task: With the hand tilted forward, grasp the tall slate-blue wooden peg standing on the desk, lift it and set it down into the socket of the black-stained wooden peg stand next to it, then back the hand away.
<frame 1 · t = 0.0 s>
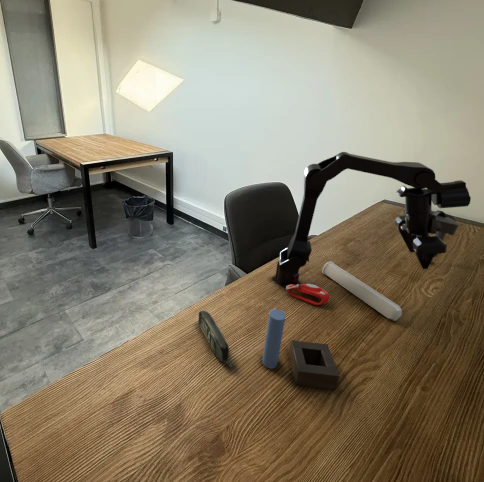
hand: (418, 260, 87), 15 cm above the table, tool pointing down, fingers open, 9 cm apart
microphone: (429, 263, 115), on the table
mobile phone: (213, 345, 75), on the table
tube: (358, 296, 95), on the table
peg: (269, 362, 71), on the table
stand: (310, 370, 69), on the table
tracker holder: (305, 295, 94), on the table
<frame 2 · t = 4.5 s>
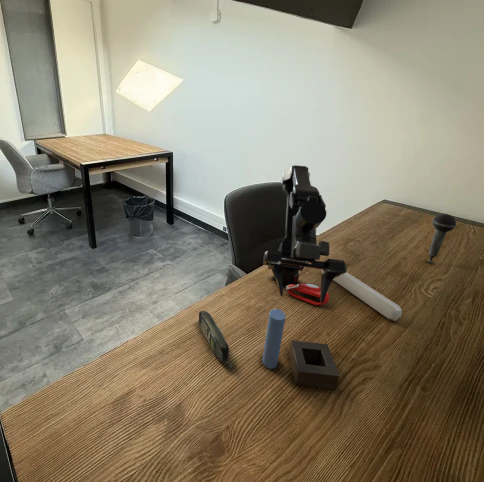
hand: (301, 299, 71), 14 cm above the table, tool tilted 40°, fingers open, 9 cm apart
nothing on the table moved.
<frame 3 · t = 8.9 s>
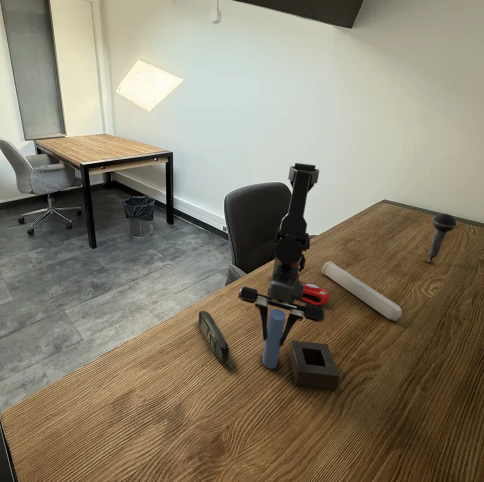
hand: (272, 343, 67), 7 cm above the table, tool tilted 45°, fingers closed on peg, 3 cm apart
peg: (269, 362, 71), on the table, touching gripper
everything else where it was.
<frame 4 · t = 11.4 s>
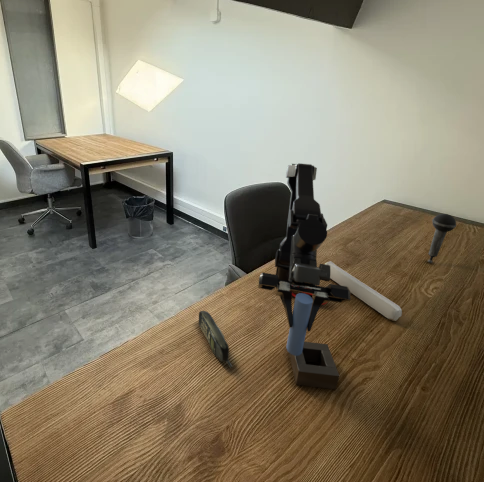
hand: (299, 329, 64), 13 cm above the table, tool tilted 45°, fingers closed on peg, 3 cm apart
peg: (294, 349, 68), point 5 cm above the table, touching gripper
everything else where it was.
when the fingers open (7 cm above the table, at t = 14.3 s): peg stays where it is, resting in stand.
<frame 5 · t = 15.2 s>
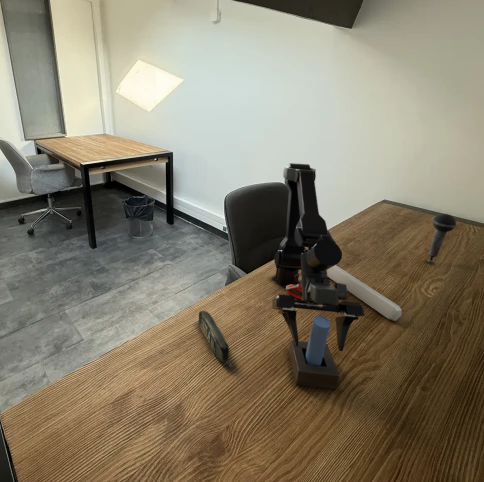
hand: (318, 348, 65), 8 cm above the table, tool tilted 45°, fingers open, 9 cm apart
peg: (310, 370, 69), resting in stand
everything else where it was.
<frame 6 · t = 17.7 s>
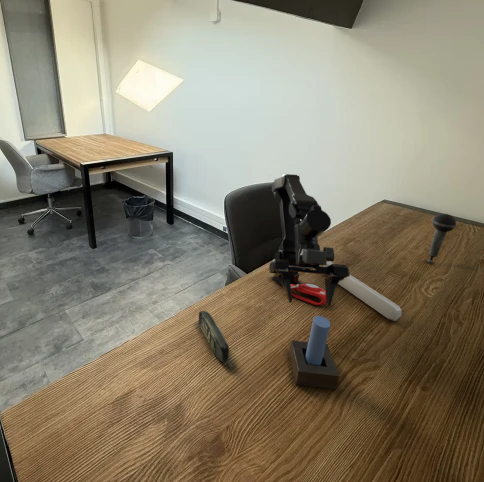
hand: (309, 304, 75), 10 cm above the table, tool tilted 45°, fingers open, 9 cm apart
nothing on the table moved.
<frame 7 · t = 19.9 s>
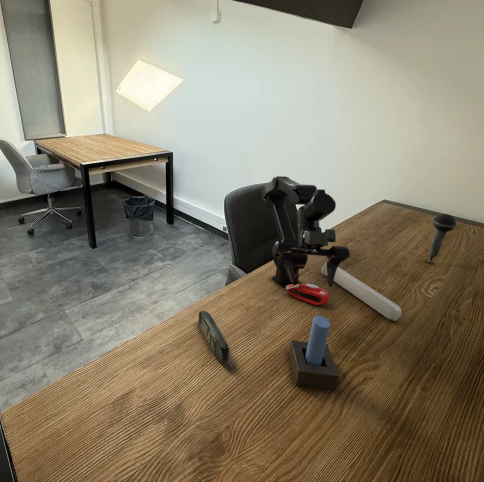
hand: (311, 284, 77), 14 cm above the table, tool tilted 45°, fingers open, 9 cm apart
nothing on the table moved.
at the end: peg 0.0 cm off-centre in the stand, point 0.0 cm above the stand's base; peg tilted 0°; the gripper is holding nothing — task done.
